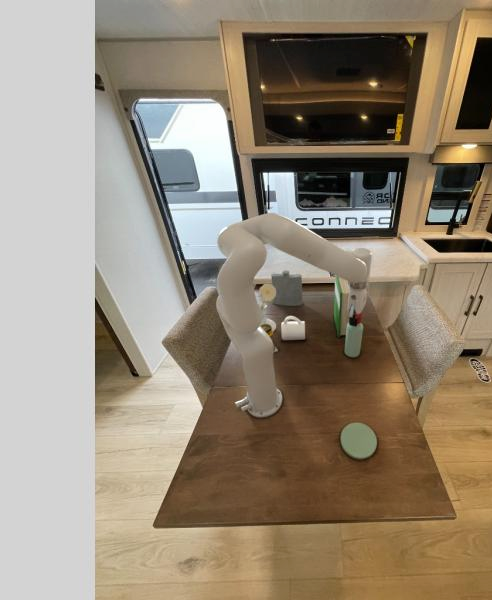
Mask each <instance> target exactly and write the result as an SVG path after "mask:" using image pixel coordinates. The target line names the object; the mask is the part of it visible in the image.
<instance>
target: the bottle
mask: <svg viewBox="0 0 492 600" xmlns="http://www.w3.org/2000/svg"><path fill="white" fill-rule="evenodd" d="M363 332H364V325H363V323H362V322H361V323H360V324H357V327H355V326H351V325H349V323H348V324H347V330H346V335H345V341H344V342H345V343H344V354H345V355H346V356H347V357H349V358H357V357H359V355H361V347H362V339H363Z"/></svg>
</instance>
